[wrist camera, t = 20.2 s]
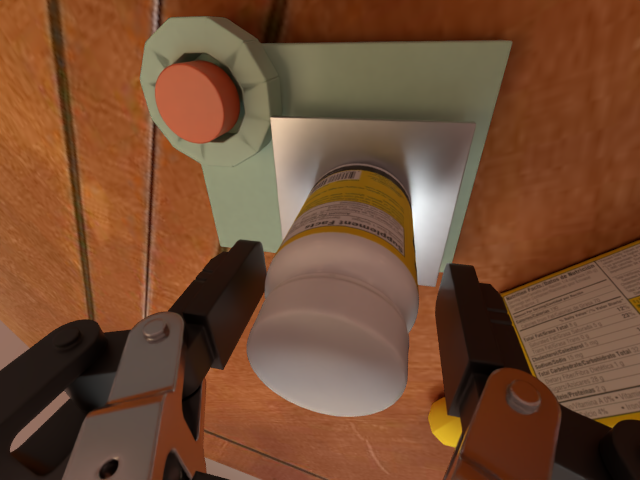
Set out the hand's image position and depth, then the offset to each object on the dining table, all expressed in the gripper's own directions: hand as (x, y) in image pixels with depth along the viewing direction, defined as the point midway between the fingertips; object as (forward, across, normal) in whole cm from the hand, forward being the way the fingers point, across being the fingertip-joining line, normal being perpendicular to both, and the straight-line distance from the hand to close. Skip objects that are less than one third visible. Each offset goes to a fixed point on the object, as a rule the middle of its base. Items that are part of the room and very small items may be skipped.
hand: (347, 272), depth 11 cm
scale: (+8, +2, -1) cm, 8 cm away
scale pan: (+5, 0, 0) cm, 5 cm away
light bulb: (+8, -8, +20) cm, 23 cm away
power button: (+5, +7, -4) cm, 10 cm away
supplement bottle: (+5, 0, 0) cm, 5 cm away
